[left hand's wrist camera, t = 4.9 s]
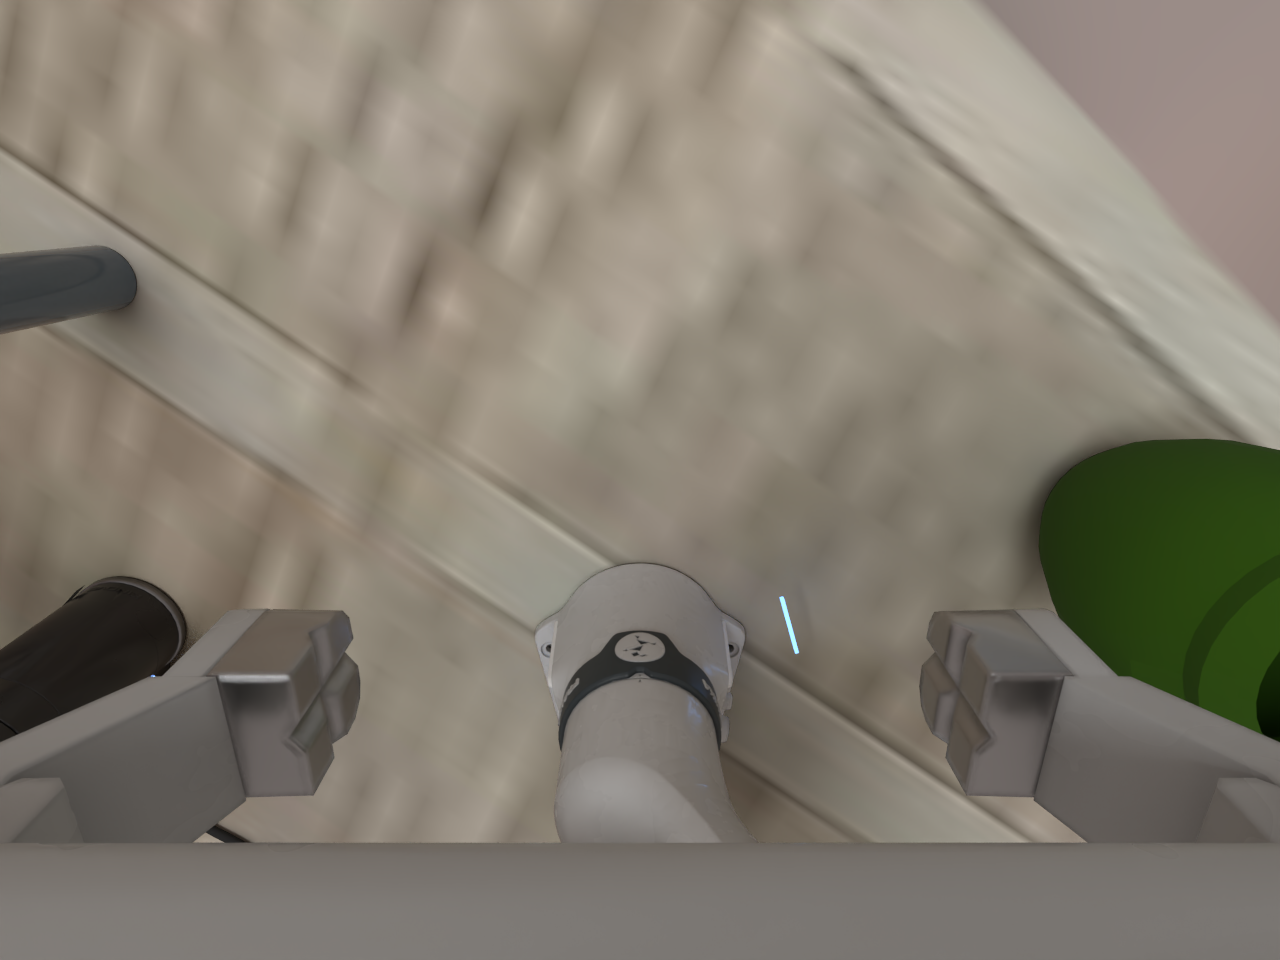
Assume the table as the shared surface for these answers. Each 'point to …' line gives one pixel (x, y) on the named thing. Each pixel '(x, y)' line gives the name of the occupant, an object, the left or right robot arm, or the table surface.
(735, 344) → the table surface
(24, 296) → the dark gray cylinder
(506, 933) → the left robot arm
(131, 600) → the right robot arm
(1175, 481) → the vase
